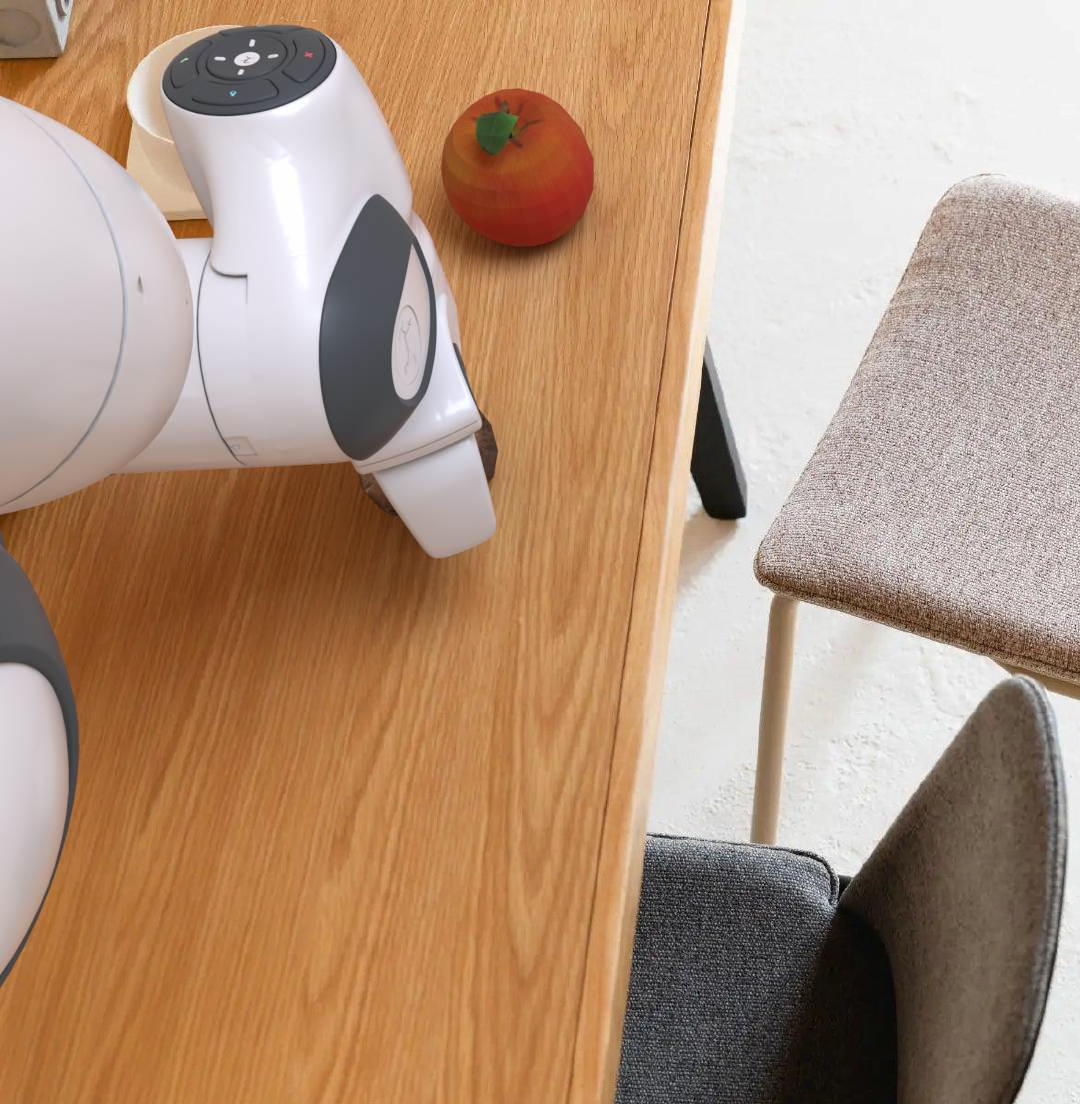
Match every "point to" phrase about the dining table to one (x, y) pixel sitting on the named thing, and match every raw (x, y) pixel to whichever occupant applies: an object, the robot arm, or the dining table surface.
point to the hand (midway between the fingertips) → (431, 460)
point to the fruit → (517, 168)
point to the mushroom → (487, 454)
